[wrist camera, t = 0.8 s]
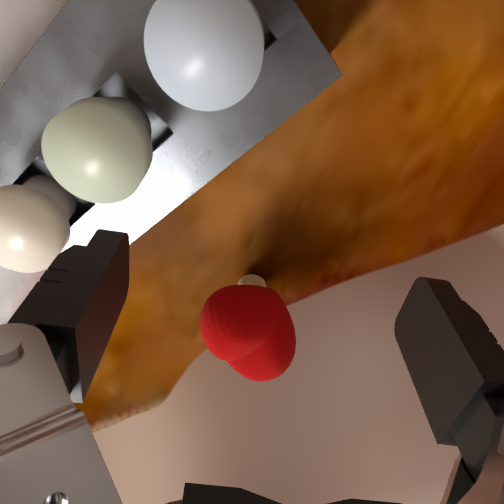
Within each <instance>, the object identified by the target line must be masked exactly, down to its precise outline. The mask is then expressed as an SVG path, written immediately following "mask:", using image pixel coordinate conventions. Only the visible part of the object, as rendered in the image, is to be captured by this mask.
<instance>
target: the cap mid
mask: <svg viewBox="0 0 504 504" xmlns="http://www.w3.org/2000/svg"><path fill="white" fill-rule="evenodd" d="M151 134H152V129H151V123H150V120H149V118H148V116H147V114H146V113H145V111H144V110H143V109H142V108H141V107H140V106H139V105H138V104H136V103H135V102H133V101H132V100H130V99H127V98H124V97H117V96H115V97H109V98H102V97H88V98H83V99H80V100H78V101H76V102H74V103H72V104H71V105H70V106H68V107H67V108H66V109H64V110H63V111H61V112H60V113H59V114H57V115H56V116H55V117H53V118H52V119H51V120H50V121H49V123H48V124H47V125H46V127H45V129H44V132H43V135H42V141H41V149H42V155H43V158H44V161H45V164H46V166H47V168H48V170H49V171H50V173H51V174H52V176H53V177H54V178H55V180H56V181H57V182H58V183H59V184H60V185H61V186H62V187H63V188H65V189H66V190H67V191H69V192H70V193H72V194H73V195H75V196H77V197H79V198H81V199H83V200H86V201H89V202H93V203H99V204H112V203H117V202H120V201H123V200H125V199H127V198H128V197H130V196H131V195H132V194H133V193H134V192H135V191H136V190H137V188H138V187H139V185H140V184H141V182H142V180H143V179H144V177H145V175H146V173H147V172H148V170H149V168H150V166H151V162H152V157H153V148H152V142H151Z"/></svg>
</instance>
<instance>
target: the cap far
mask: <svg viewBox="0 0 504 504" xmlns="http://www.w3.org/2000/svg"><path fill="white" fill-rule="evenodd" d="M75 210H76V199H75V196H74V195H73V194H72V193H70V192H69V191H67V190H66V189H65V188H63V187H62V186H61V185H60V184H59V183H58V182H57V181H56V180H55V178H54V177H52V176H48V175H35V176H33V177H31V178H29V179H28V180H27V181H26V182H25V183H24V184H23V185H5V186H2V187H0V266H2V267H5V268H7V269H10V270H13V271H17V272H24V273H33V272H39V271H42V270H44V269H46V268H48V267H49V266H50V264H51V263H52V262H53V260H54V259H55V258H56V256H57V255H58V254H59V253H60V252H61V251H62V250H63V248H64V247H65V245H66V244H67V242H68V241H69V238H70V232H71V229H70V224H69V219H70V218H71V216H72V215H73V214H74V212H75Z"/></svg>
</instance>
